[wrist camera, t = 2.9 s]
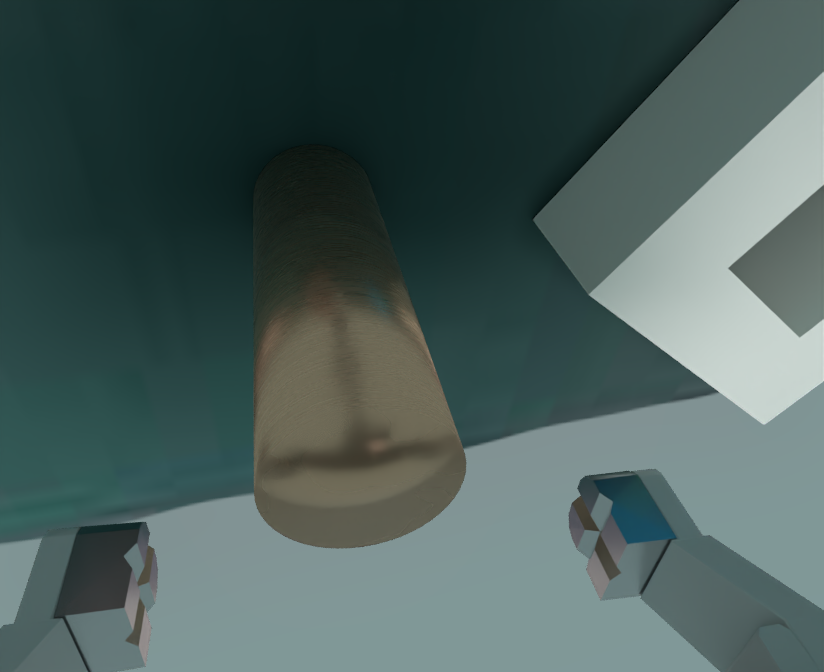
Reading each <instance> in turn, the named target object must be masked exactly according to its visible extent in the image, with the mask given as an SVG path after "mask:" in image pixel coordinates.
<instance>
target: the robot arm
mask: <svg viewBox="0 0 824 672" xmlns="http://www.w3.org/2000/svg"><path fill="white" fill-rule="evenodd" d="M577 489H578V491H579V493H580V495H581V496H580V497H579V498H577V499H576V500H575V501H574V502H573V503H572V505H571V508H570V512H569V529H570V533H571V536H572V539H573V542H574V544H575V546H576V548H577V550H578V551H579V552H581V553H582V554H583V555H585V556H586V557H587V558H589V560H588V565H587V569H586V570H587V572H588V574H589V576H590V579H591V581H592V583H593V585H594V587H595V589H596V591H597V594H598V596H599V598H600V600H608V599H617V598H626V597H635V596H641V599H642V600H643V601H644V602H645V603H646V604H647V605H648V606H649V607H651V608H652V609H653V610H654V611H655V612H656V613H657V614H658V615H659V616H660V617H661V618H663V619H664V620H665V621H666V622H667V623H668V624H669V625H670V626H671V627H672V628H674V630H676V631H677V632H678V633H679V634H680V635H681V636H682V637H683V638H684V639H686V641H688V642H689V643H690V644H691V645H692V646H693V647H694V648H695V649H696V650H697V651H698V652H700V653H701V654H702V655H703V656H704V657H705V658H706V659H707V660H708V661H709V662H710V663H712V664H713V665H714V666H715V667H716V668H717V669H718V670H719V671H720V672H824V610H822V609H821V608H819V607H817V606H816V605H815V604H813V603H812V602H810V601H809V600H807V599H806V598H804V597H802V596H801V595H800V594H798V593H796V592H795V591H793V590H792V589H790V588H789V587H787V586H786V585H784V584H783V583H781V582H780V581H778V580H777V579H775V578H774V577H772V576H771V575H769V574H768V573H766V572H765V571H763V570H762V569H760V568H759V567H757V566H756V565H754V564H752V563H751V562H749V561H748V560H746V559H745V558H743V557H742V556H740V555H739V554H737V553H736V552H734V551H733V550H731V549H730V548H728V547H727V546H725V545H724V544H722V543H721V542H719V541H717V540H716V539H714V538H713V537H712V536H710V535H708V536H703V535H702V534H701V532H700V531H699V529H698V528H697V526H696V525H695V523H694V522H693V520H692V519H691V517H690V516H689V514H688V513H687V511H686V510H685V508H684V507H683V505H682V504H681V502H680V501H679V499H678V498H677V496H676V495H675V493H674V492H673V490H672V489H671V487H670V486H669V484H668V483H667V481H666V480H665V478H664V477H663V475H662V474H661V473H660V472H659V471H658V470H656V469H648V470H638V471H631V472H630V471H623V472H615V473H606V474H598V475H589V476H585V477H583V478H582V479H581V480H580V483H579V485H578V488H577ZM149 535H150V532H149V529H148V527H147V523H146V522H135V523H123V524H110V525H97V526H85V527H73V528H62V529H52V530H48V531H47V533H46V534H45V536H44V537H43V539H42V541H41V543H40V547H39V549H38V553H37V555H36V558H35V561H34V565H33V568H32V571H31V574H30V577H29V579H28V583H27V586H26V589H25V592H24V595H23V598H22V601H21V604H20V607H19V610H18V613H17V616H16V619H15V622H14V624H9V625H3V626H2V628H1V629H0V672H117V671H123V670H129V669H135V668H141V667H146V661H147V655H148V648H149V641H150V635H151V625H150V621H149V618H148V615H147V612H148V611H149V610H150V609H151V607H152V606H153V605H154V604H155V601H156V593H157V578H158V567H157V558H156V554H155V551H154V549H153V548H151V547H150V546H148V542H149Z"/></svg>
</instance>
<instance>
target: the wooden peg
mask: <svg viewBox="0 0 824 672" xmlns="http://www.w3.org/2000/svg"><path fill="white" fill-rule="evenodd" d="M253 296H254V496H255V502H256V505H257V509H258V510H259V513H260V514H261V516H262V517H263V519H264V520H265V521H266V522H267V523H268V525H270V526H271V527H272V528H273V529H274V530H275V531H277V532H279V533H280V534H282V535H283V536H285V537H288V538H290V539H292V540H294V541H297V542H300V543H303V544H307V545H312V546H317V547H325V548H355V547H364V546H369V545H375V544H379V543H382V542H386V541H389V540H393V539H395V538H398V537H401V536H403V535H406V534H408V533H410V532H412V531H414V530H416V529H418V528H420V527H422V526H423V525H424V524H426V523H428V522H429V521H431V520H432V519H433V518H435V517H436V516H437V515H438V514H440V513H441V512H442V511H443V510H444V509H445V508H446V507H447V506H448V505H449V504H450V502H451V501H452V500H453V499H454V498H455V496H456V494H457V493H458V491H459V490H460V488H461V485H462V483H463V481H464V476H465V473H466V458H465V453H464V450H463V447H462V444H461V441H460V439H459V436H458V433H457V430H456V427H455V424H454V421H453V419H452V416H451V413H450V410H449V407H448V404H447V401H446V399H445V396H444V393H443V390H442V387H441V384H440V381H439V378H438V376H437V373H436V370H435V367H434V364H433V361H432V358H431V356H430V353H429V350H428V347H427V344H426V341H425V338H424V336H423V333H422V330H421V327H420V324H419V321H418V318H417V316H416V313H415V310H414V307H413V304H412V301H411V298H410V295H409V293H408V290H407V287H406V284H405V281H404V278H403V275H402V273H401V270H400V267H399V264H398V261H397V258H396V255H395V253H394V250H393V247H392V244H391V241H390V238H389V235H388V233H387V230H386V227H385V224H384V221H383V218H382V215H381V212H380V210H379V207H378V204H377V201H376V198H375V195H374V192H373V190H372V187H371V184H370V181H369V179H368V177H367V175H366V173H365V171H364V170H363V169H362V167H361V166H360V165H359V164H358V163H357V162H356V161H355V160H354V159H353V158H352V157H350V156H349V155H347V154H346V153H344V152H342V151H340V150H338V149H335V148H332V147H329V146H323V145H302V146H298V147H294V148H291V149H288V150H286V151H284V152H282V153H280V154H279V155H277V156H276V157H275V158H273V159H272V160H271V161H270V162H269V163H268V164H267V165H266V166H265V167H264V169H263V170H262V172H261V173H260V175H259V177H258V179H257V182H256V184H255V188H254V195H253Z"/></svg>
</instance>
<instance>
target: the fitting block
mask: <svg viewBox="0 0 824 672" xmlns="http://www.w3.org/2000/svg"><path fill="white" fill-rule="evenodd" d="M533 221H534V222H535V224H536V225H537V226H538V228H539V229H540V230H541V232H542V233H543V234H544V236H545V237H546V239H547V240H548V241H549V243H550V244H551V245H552V247H553V248H554V249H555V251H556V252H557V253H558V255H559V256H560V257H561V259H562V260H563V261H564V263H565V264H566V265H567V267H568V268H569V269H570V271H571V272H572V273H573V275H574V276H575V277H576V279H577V280H578V281H579V283H580V284H581V285H582V287H583V288H584V289H585V291H586V292H587V293H588V295H589V296H591V297H592V298H593V299H595V300H596V301H598V302H599V303H600V304H602V305H603V306H604V307H606V308H607V309H608V310H610V311H611V312H612V313H614V314H615V315H616V316H618V317H619V318H620V319H622V320H623V321H624V322H626V323H627V324H628V325H630V326H631V327H633V328H634V329H635V330H637V331H638V332H639V333H641V334H642V335H643V336H645V337H646V338H647V339H649V340H650V341H651V342H653V343H654V344H655V345H657V346H658V347H659V348H661V349H662V350H663V351H665V352H666V353H668V354H669V355H670V356H672V357H673V358H674V359H676V360H677V361H678V362H680V363H681V364H682V365H684V366H685V367H686V368H688V369H689V370H690V371H692V372H693V373H694V374H696V375H697V376H698V377H700V378H701V379H703V380H704V381H705V382H707V383H708V384H709V385H711V386H712V387H713V388H715V389H716V390H717V391H719V392H720V393H721V394H723V395H724V396H726V397H727V398H728V399H729V400H731V401H732V402H734V403H735V404H736V405H738V406H739V407H740V408H742V409H743V410H744V411H746V412H747V413H748V414H750V415H751V416H752V417H754V418H755V419H756V420H758V421H759V422H760V423H762V424H763V425H765V424H766V423H767V422H769V421H770V420H772V419H773V418H774V417H776V416H777V415H778V414H780V413H781V412H782V411H784V410H785V409H787V408H788V407H789V406H791V405H792V404H793V403H795V402H796V401H797V400H799V399H800V398H801V397H803V396H804V395H805V394H807V393H808V392H810V391H811V390H812V389H813V388H815V387H816V386H818V385H819V384H820V383H822V382H823V381H824V0H739V1H738V2H737V3H736V5H735V6H734V7H733V8H732V9H731V10H730V11H729V12H728V13H727V14H726V15H725V16H724V17H723V18H722V19H721V20H720V21H719V23H718V24H717V25H716V26H715V27H714V28H713V29H712V30H711V31H710V32H709V33H708V34H707V35H706V36H705V37H704V38H703V39H702V41H701V42H700V43H699V44H698V45H697V46H696V47H695V48H694V49H693V50H692V51H691V52H690V53H689V54H688V55H687V56H686V58H685V59H684V60H683V61H682V62H681V63H680V64H679V65H678V66H677V67H676V68H675V69H674V70H673V71H672V72H671V73H670V74H669V76H668V77H667V78H666V79H665V80H664V81H663V82H662V83H661V84H660V85H659V86H658V87H657V88H656V89H655V90H654V91H653V92H652V94H651V95H650V96H649V97H648V98H647V99H646V100H645V101H644V102H643V103H642V104H641V105H640V106H639V107H638V108H637V109H636V111H635V112H634V113H633V114H632V115H631V116H630V117H629V118H628V119H627V120H626V121H625V122H624V123H623V124H622V125H621V126H620V127H619V129H618V130H617V131H616V132H615V133H614V134H613V135H612V136H611V137H610V138H609V139H608V140H607V141H606V142H605V143H604V144H603V145H602V147H601V148H600V149H599V150H598V151H597V152H596V153H595V154H594V155H593V156H592V157H591V158H590V159H589V160H588V161H587V162H586V163H585V165H584V166H583V167H582V168H581V169H580V170H579V171H578V172H577V173H576V174H575V175H574V176H573V177H572V178H571V179H570V180H569V182H568V183H567V184H566V185H565V186H564V187H563V188H562V189H561V190H560V191H559V192H558V193H557V194H556V195H555V196H554V197H553V198H552V200H551V201H550V202H549V203H548V204H547V205H546V206H545V207H544V208H543V209H542V210H541V211H540V212H539V213H538V214H537V215H536V216H535V218H534V219H533Z"/></svg>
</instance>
